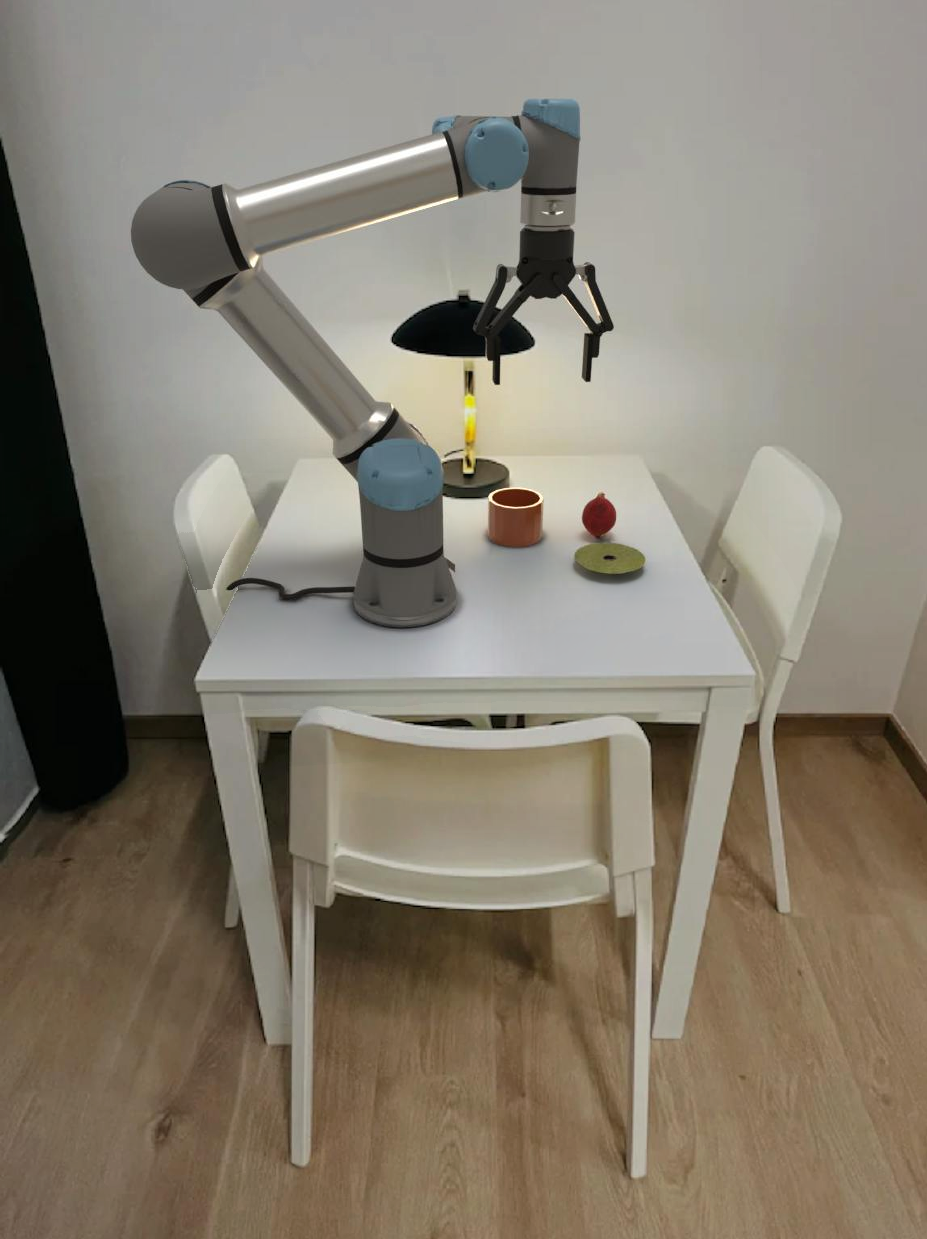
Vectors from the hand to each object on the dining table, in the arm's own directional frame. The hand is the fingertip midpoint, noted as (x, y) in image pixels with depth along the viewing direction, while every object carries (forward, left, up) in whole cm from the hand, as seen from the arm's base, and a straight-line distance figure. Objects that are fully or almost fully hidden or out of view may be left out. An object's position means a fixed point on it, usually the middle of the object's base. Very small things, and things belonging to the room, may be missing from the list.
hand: (541, 381), depth 136 cm
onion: (+12, +6, -29) cm, 32 cm away
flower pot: (-2, +8, -29) cm, 30 cm away
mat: (+11, -6, -29) cm, 31 cm away
